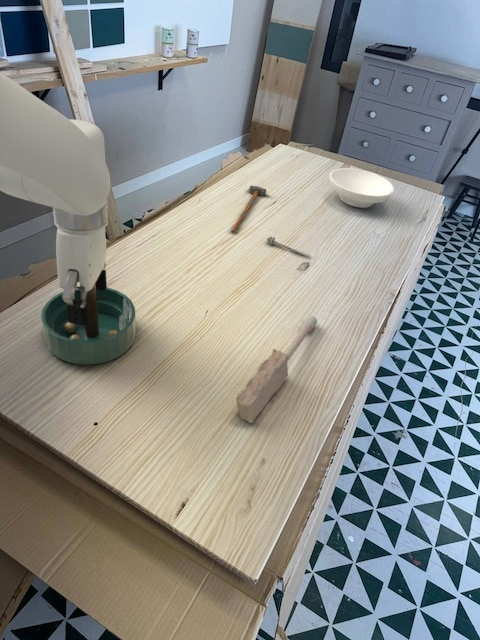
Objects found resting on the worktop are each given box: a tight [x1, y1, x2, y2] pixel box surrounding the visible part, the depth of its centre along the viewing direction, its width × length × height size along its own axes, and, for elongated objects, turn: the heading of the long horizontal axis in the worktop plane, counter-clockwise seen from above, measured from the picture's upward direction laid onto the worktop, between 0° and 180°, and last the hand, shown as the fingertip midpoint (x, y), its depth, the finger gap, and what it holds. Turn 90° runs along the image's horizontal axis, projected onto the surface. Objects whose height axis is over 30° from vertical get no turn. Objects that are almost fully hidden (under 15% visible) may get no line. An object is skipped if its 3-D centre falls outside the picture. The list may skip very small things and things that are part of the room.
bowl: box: [329, 167, 395, 209], centre depth 141 cm, size 20×20×7 cm
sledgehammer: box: [231, 185, 267, 234], centre depth 128 cm, size 27×2×5 cm
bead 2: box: [69, 335, 81, 340], centre depth 79 cm, size 2×2×2 cm
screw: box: [266, 236, 309, 258], centre depth 115 cm, size 2×11×2 cm
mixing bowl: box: [40, 286, 137, 365], centre depth 81 cm, size 15×15×6 cm
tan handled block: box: [236, 315, 318, 424], centre depth 82 cm, size 8×4×30 cm
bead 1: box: [64, 322, 76, 333], centre depth 81 cm, size 2×2×2 cm
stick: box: [79, 282, 99, 338], centre depth 79 cm, size 2×2×11 cm
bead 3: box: [108, 330, 118, 337], centre depth 81 cm, size 2×2×2 cm
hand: (88, 305), depth 78 cm, fingers open, 9 cm apart
